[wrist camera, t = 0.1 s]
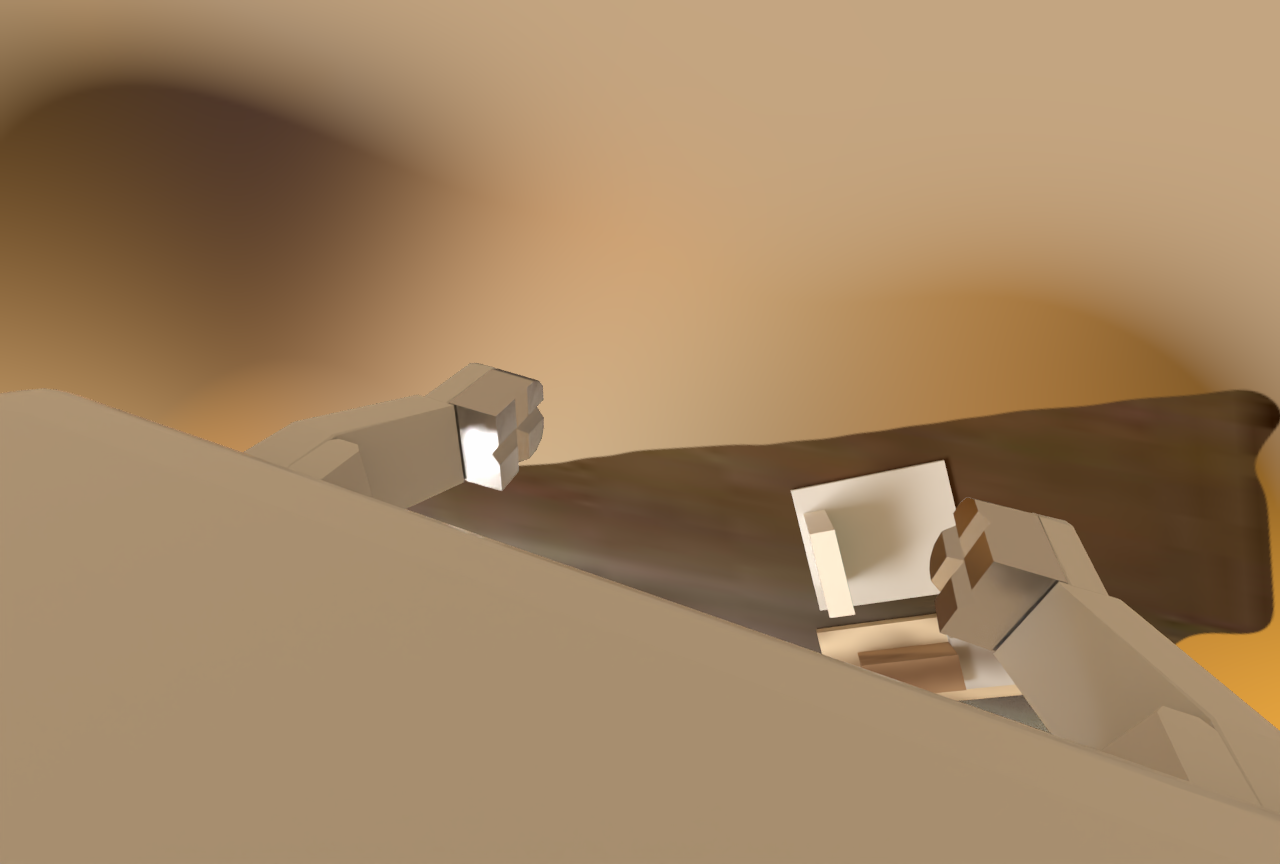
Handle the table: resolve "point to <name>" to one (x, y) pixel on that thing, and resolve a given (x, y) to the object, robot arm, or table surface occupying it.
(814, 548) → the tile
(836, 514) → the mat
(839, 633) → the board
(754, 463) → the table surface
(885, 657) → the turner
